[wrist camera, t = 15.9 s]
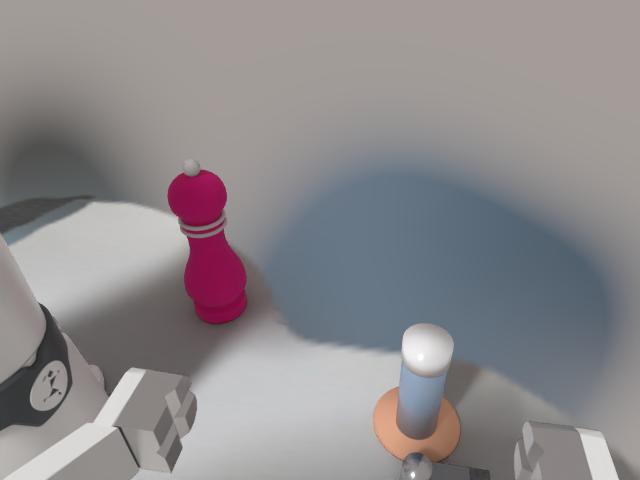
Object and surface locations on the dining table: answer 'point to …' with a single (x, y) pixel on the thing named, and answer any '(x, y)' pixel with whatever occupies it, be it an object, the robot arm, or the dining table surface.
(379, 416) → the coaster
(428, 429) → the shaker
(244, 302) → the pepper mill
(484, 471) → the rail
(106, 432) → the robot arm
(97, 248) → the dining table surface
